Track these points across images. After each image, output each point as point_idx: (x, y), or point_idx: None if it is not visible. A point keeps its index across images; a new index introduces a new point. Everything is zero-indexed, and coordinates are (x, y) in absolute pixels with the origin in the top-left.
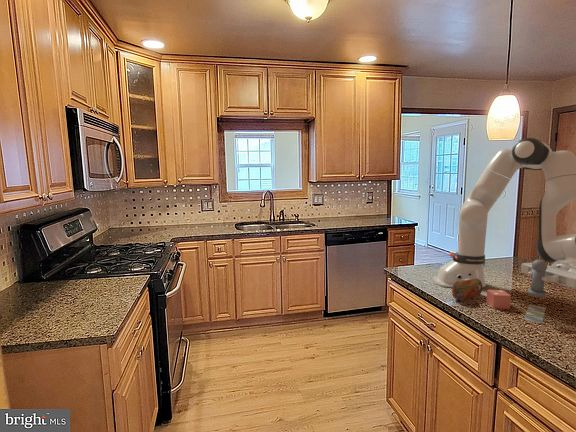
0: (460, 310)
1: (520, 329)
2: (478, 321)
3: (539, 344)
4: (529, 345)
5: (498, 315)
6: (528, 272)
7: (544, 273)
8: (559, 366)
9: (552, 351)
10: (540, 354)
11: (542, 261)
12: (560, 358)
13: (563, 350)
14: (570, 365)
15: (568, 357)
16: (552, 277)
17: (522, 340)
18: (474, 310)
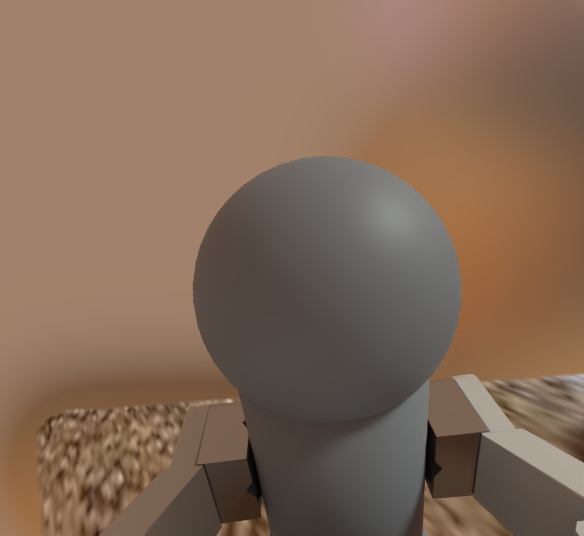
0: (508, 385)
1: None
2: None
3: (159, 462)
4: (177, 424)
5: (468, 519)
6: (461, 377)
7: (243, 407)
8: (66, 413)
9: (106, 465)
10: (128, 414)
11: (245, 185)
12: (72, 451)
13: (73, 515)
14: (38, 445)
15: (49, 483)
16: (138, 514)
17: None
18: None
